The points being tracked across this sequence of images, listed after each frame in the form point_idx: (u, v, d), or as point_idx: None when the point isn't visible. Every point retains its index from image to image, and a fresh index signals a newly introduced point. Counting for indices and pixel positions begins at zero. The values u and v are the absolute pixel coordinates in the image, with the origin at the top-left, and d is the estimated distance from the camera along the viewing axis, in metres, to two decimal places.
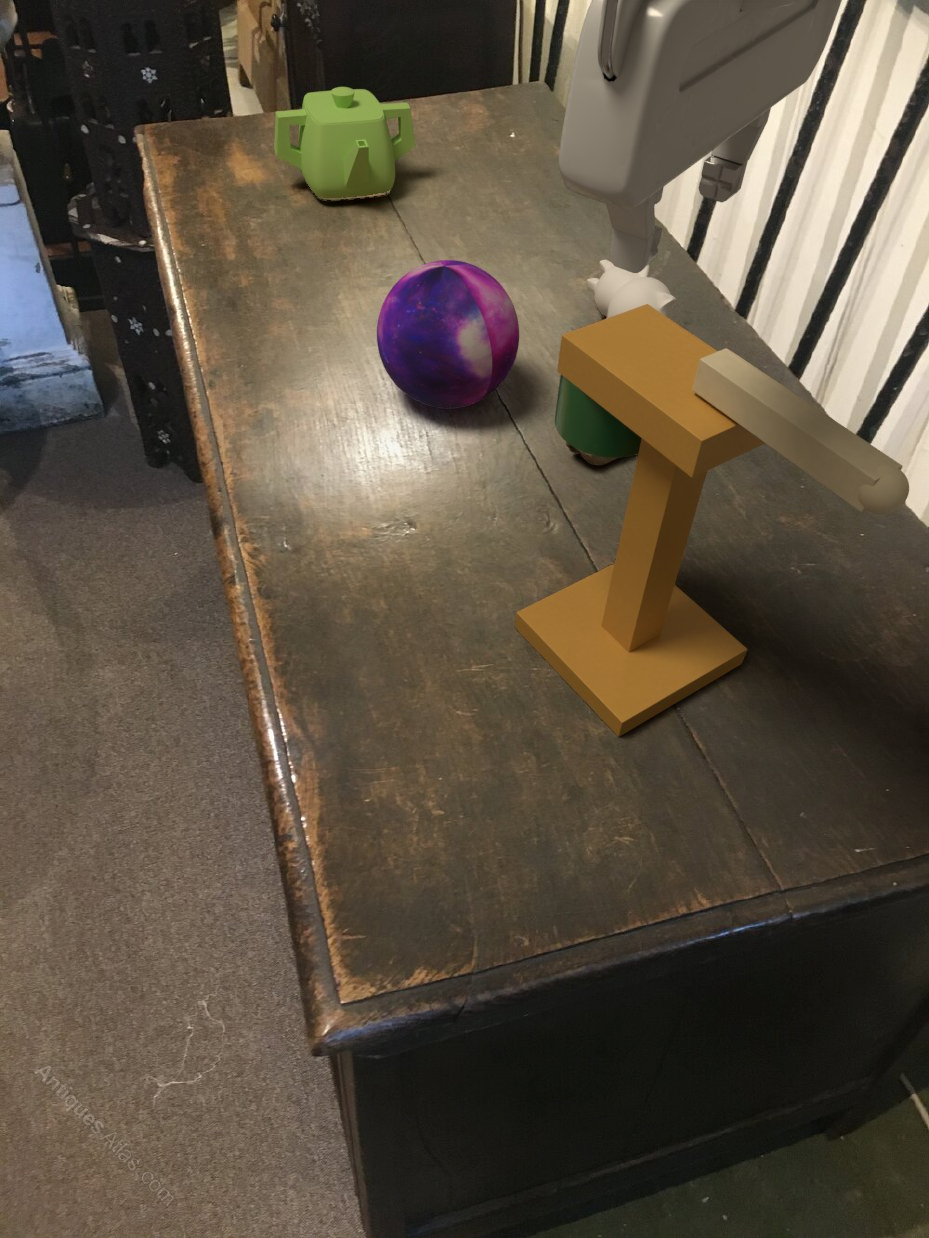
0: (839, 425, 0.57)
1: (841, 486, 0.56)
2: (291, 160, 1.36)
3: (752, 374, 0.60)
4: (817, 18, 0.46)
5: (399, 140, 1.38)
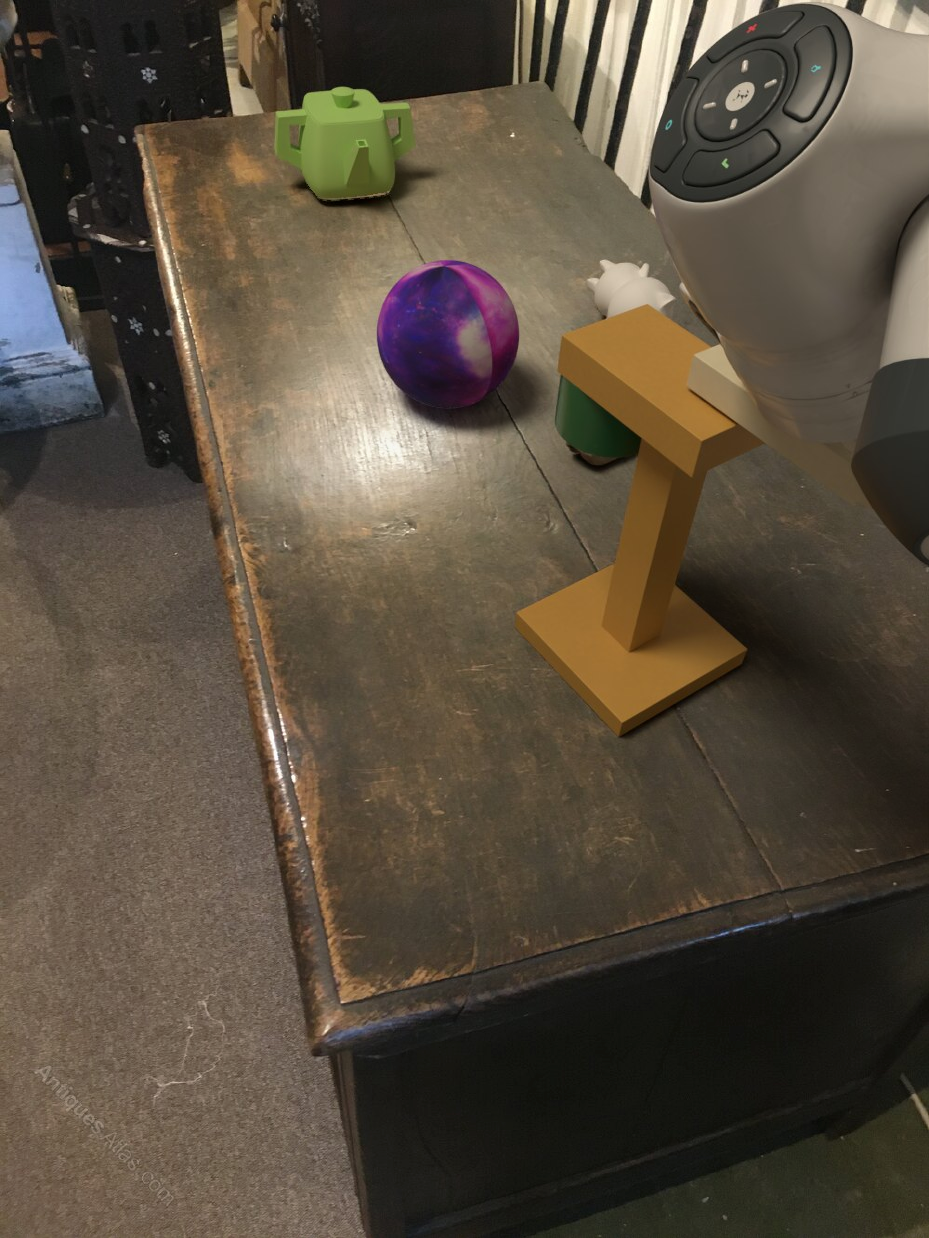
0: None
1: (834, 481, 0.56)
2: (291, 160, 1.36)
3: None
4: None
5: (399, 140, 1.38)
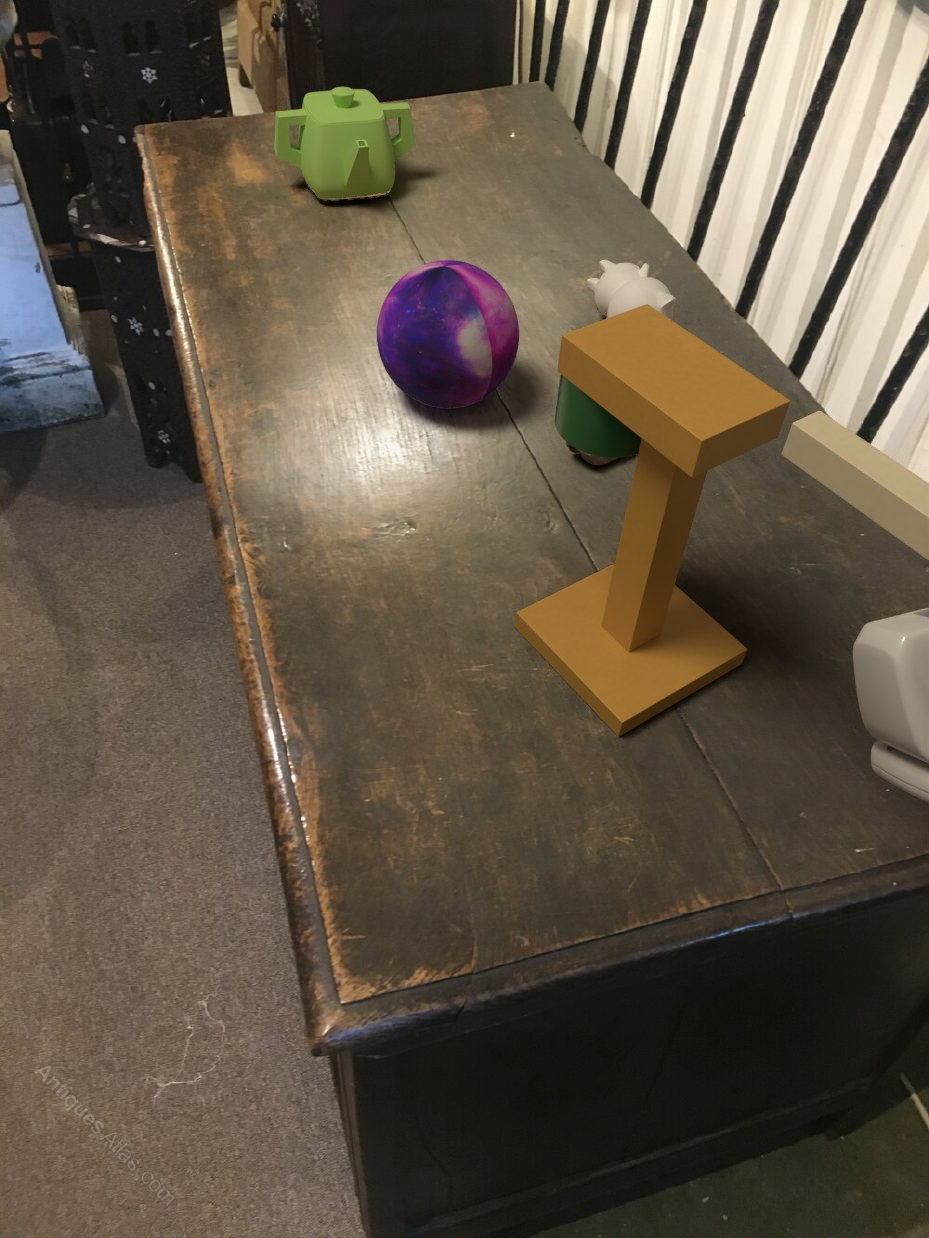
0: None
1: None
2: (291, 160, 1.36)
3: (851, 441, 0.56)
4: None
5: (399, 140, 1.38)
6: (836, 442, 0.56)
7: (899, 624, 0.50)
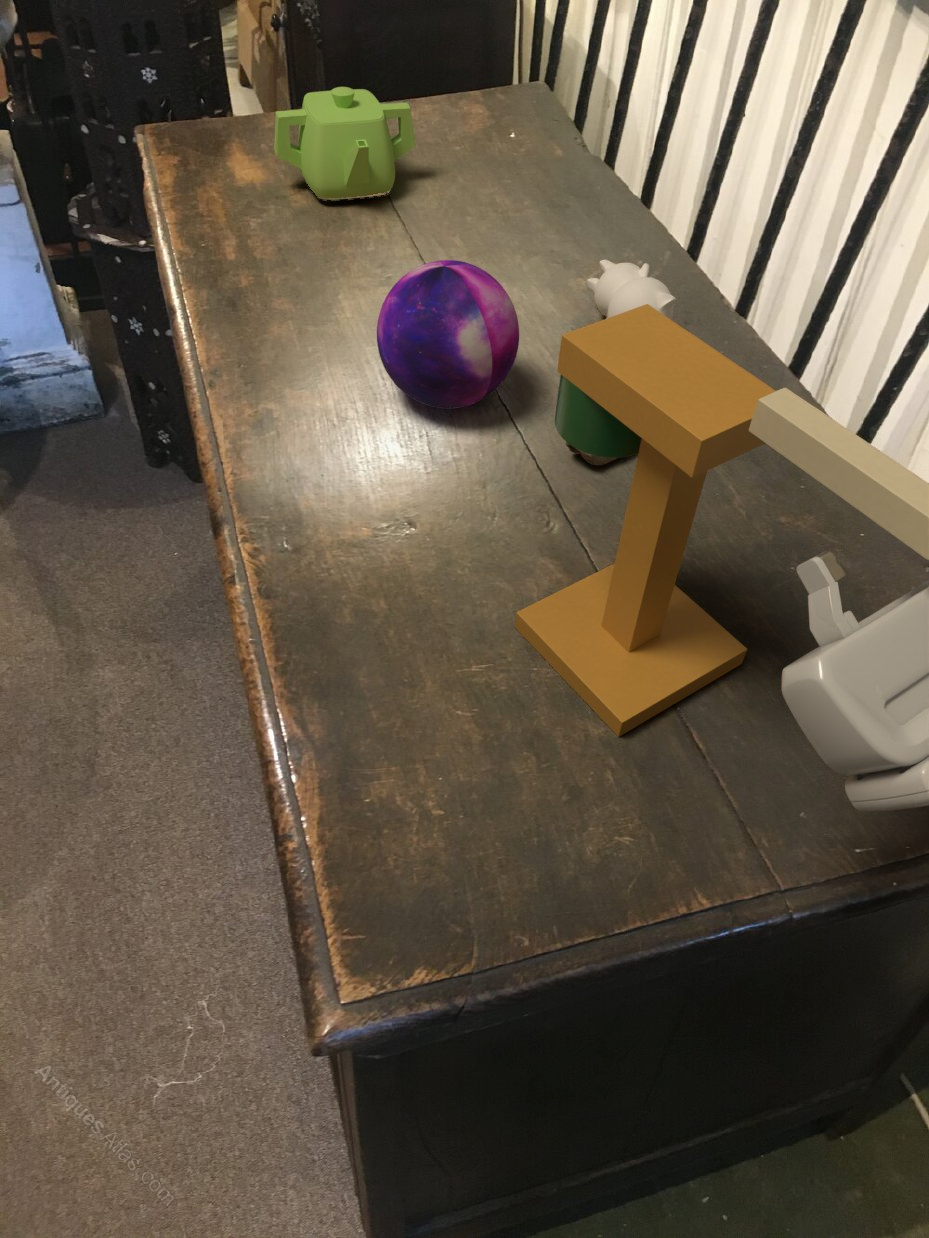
0: (909, 472, 0.54)
1: (912, 537, 0.53)
2: (291, 160, 1.36)
3: (814, 416, 0.57)
4: (871, 697, 0.52)
5: (399, 140, 1.38)
6: (800, 417, 0.57)
7: (809, 655, 0.53)
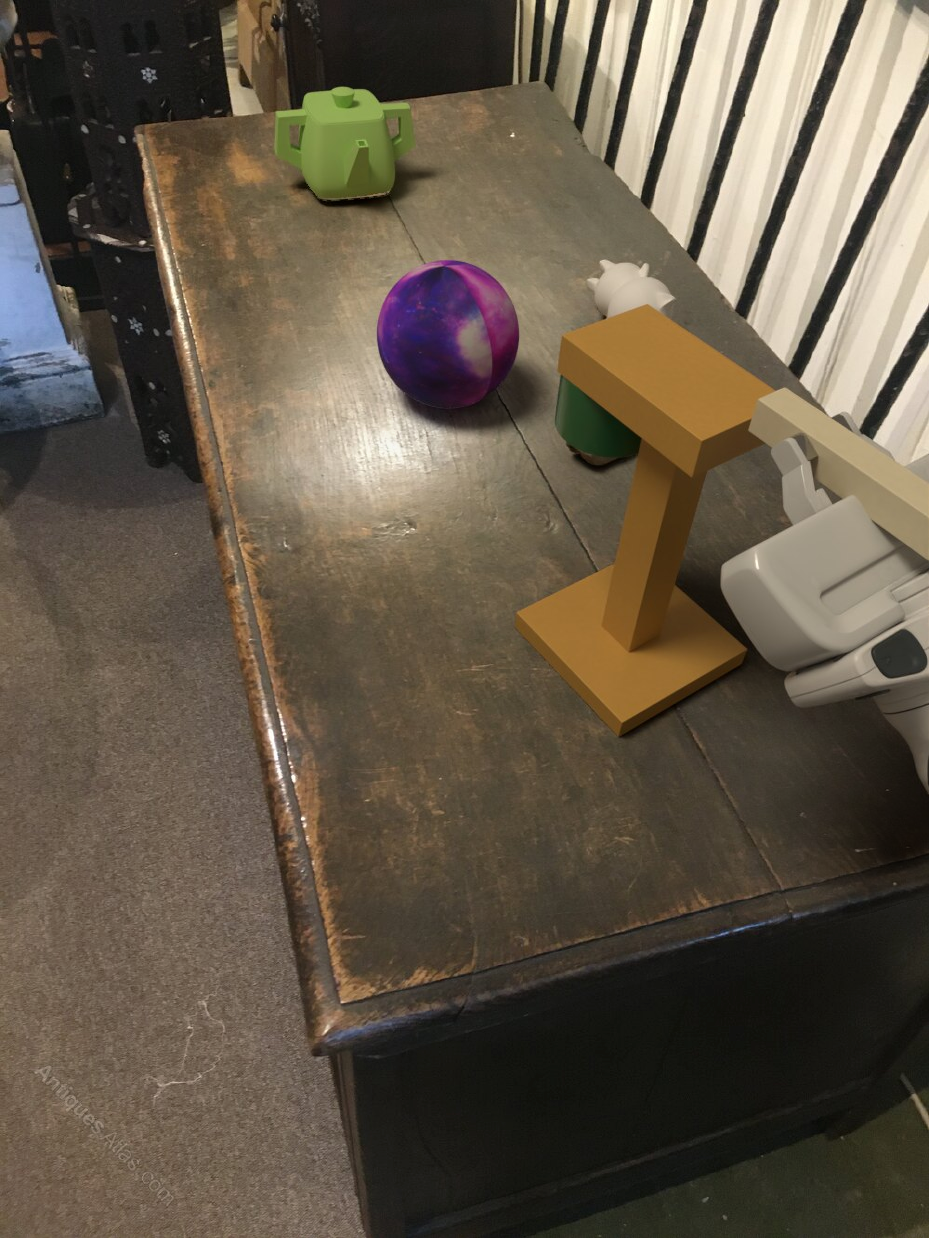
0: (909, 472, 0.54)
1: (912, 537, 0.53)
2: (291, 160, 1.36)
3: (814, 416, 0.57)
4: (807, 587, 0.52)
5: (399, 140, 1.38)
6: (800, 417, 0.57)
7: None
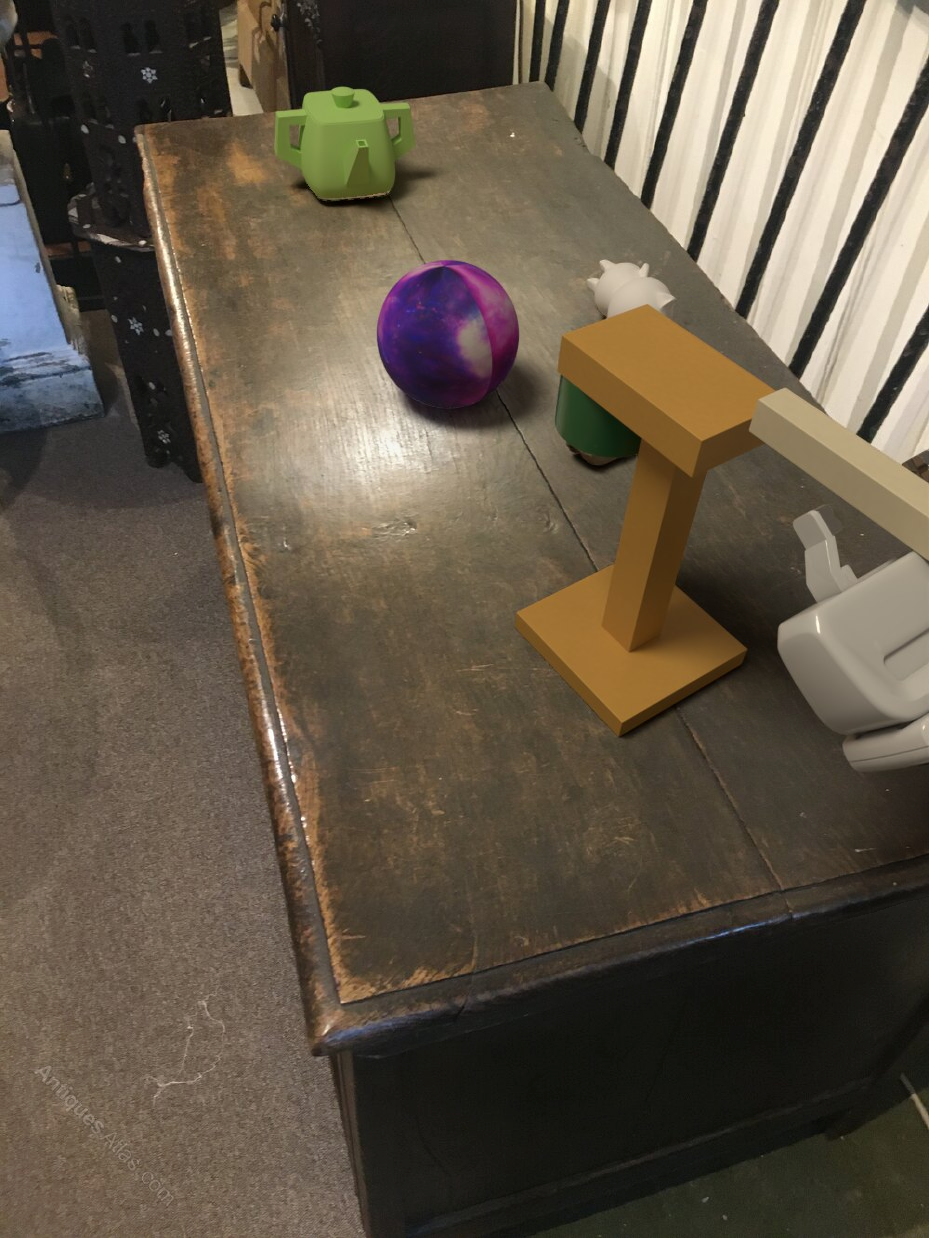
0: (909, 472, 0.54)
1: (913, 537, 0.53)
2: (291, 160, 1.36)
3: (814, 416, 0.57)
4: (870, 652, 0.50)
5: (399, 140, 1.38)
6: (800, 417, 0.57)
7: (806, 610, 0.52)
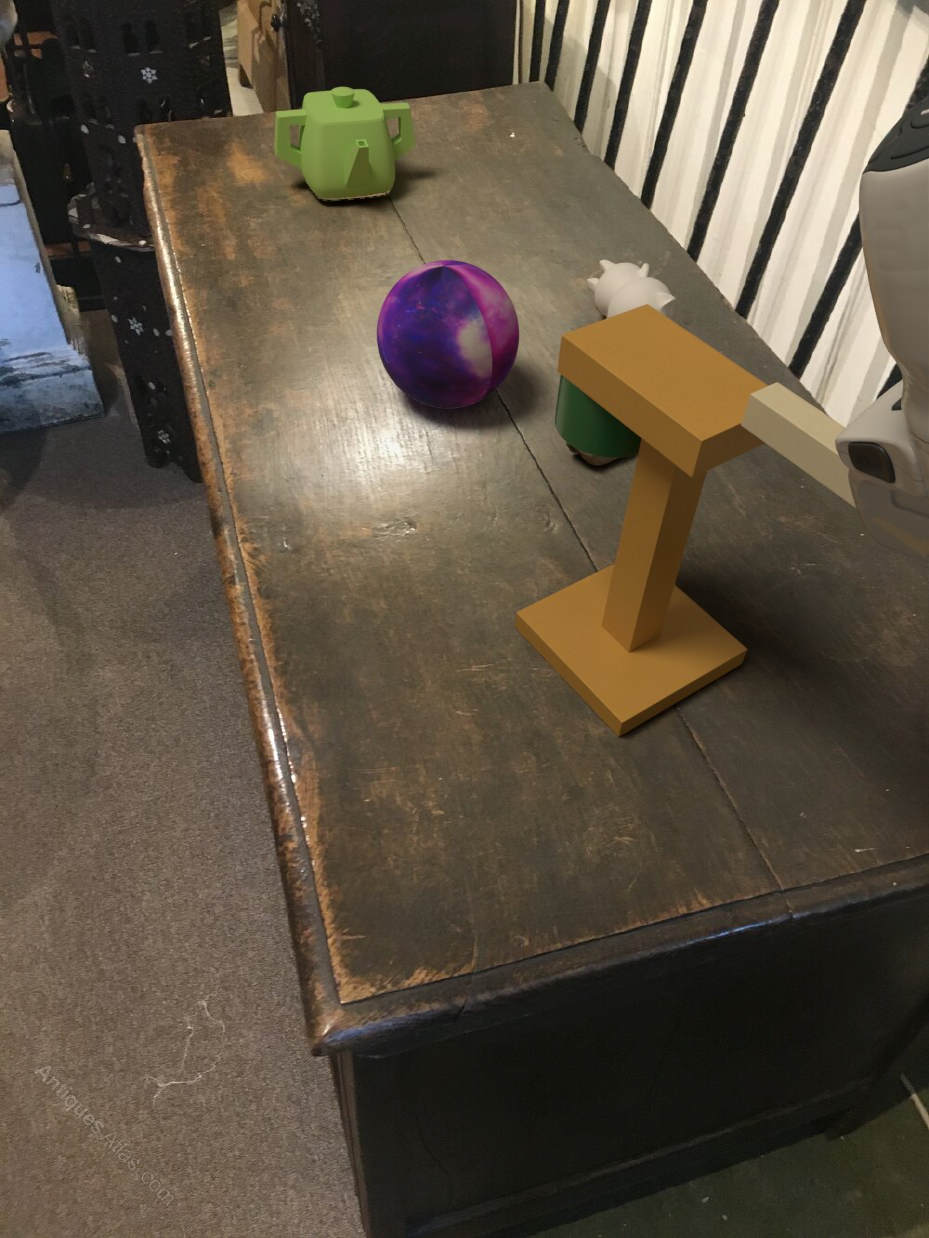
0: None
1: (903, 530, 0.54)
2: (291, 160, 1.36)
3: (806, 410, 0.58)
4: None
5: (399, 140, 1.38)
6: (792, 412, 0.58)
7: None
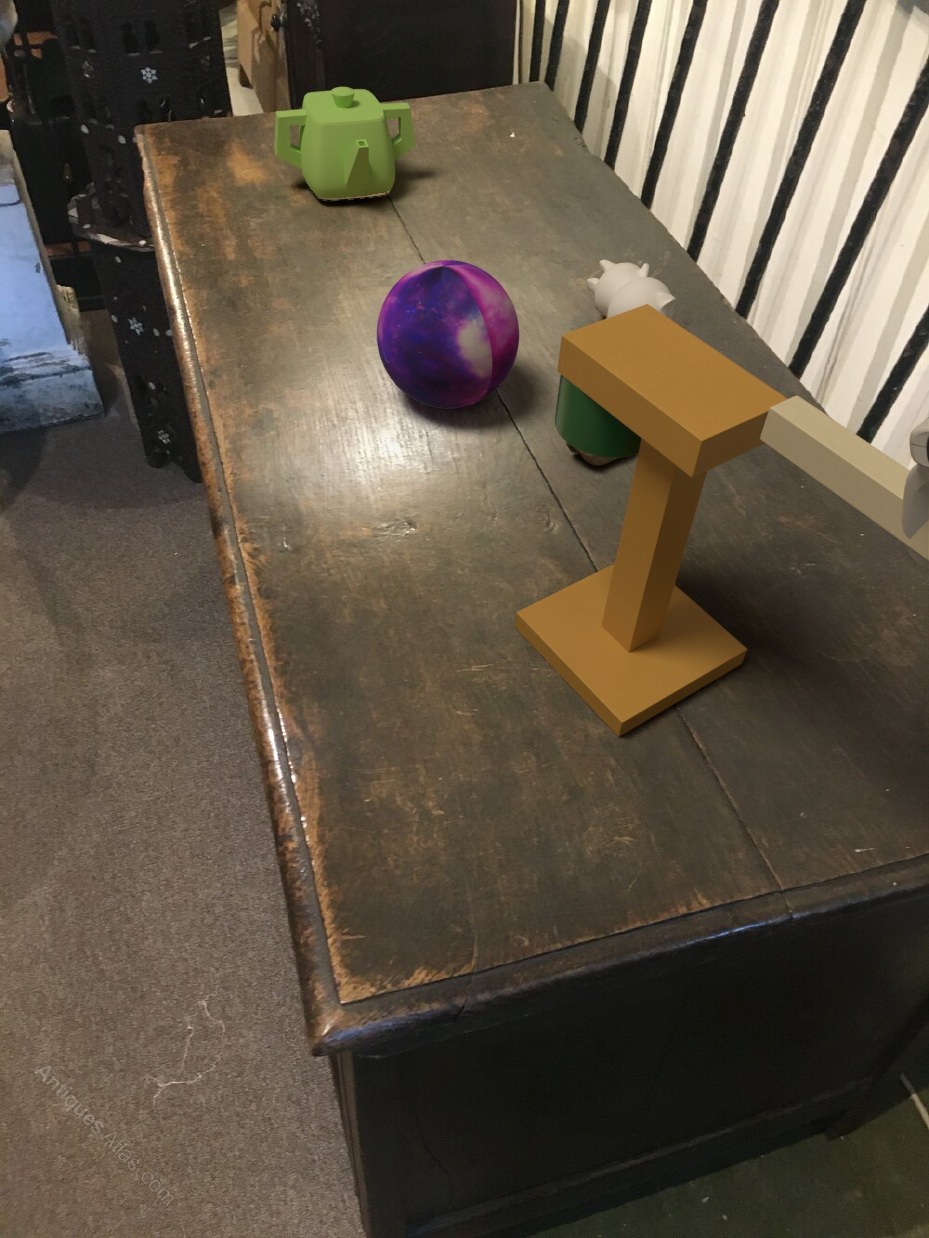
0: None
1: (927, 547, 0.53)
2: (291, 160, 1.36)
3: (826, 424, 0.57)
4: None
5: (399, 140, 1.38)
6: (812, 426, 0.57)
7: None
